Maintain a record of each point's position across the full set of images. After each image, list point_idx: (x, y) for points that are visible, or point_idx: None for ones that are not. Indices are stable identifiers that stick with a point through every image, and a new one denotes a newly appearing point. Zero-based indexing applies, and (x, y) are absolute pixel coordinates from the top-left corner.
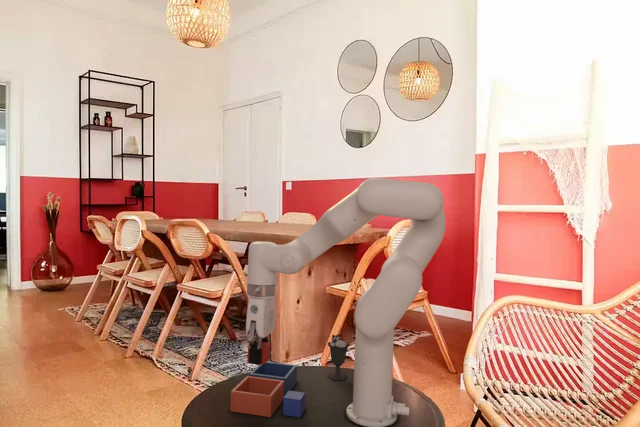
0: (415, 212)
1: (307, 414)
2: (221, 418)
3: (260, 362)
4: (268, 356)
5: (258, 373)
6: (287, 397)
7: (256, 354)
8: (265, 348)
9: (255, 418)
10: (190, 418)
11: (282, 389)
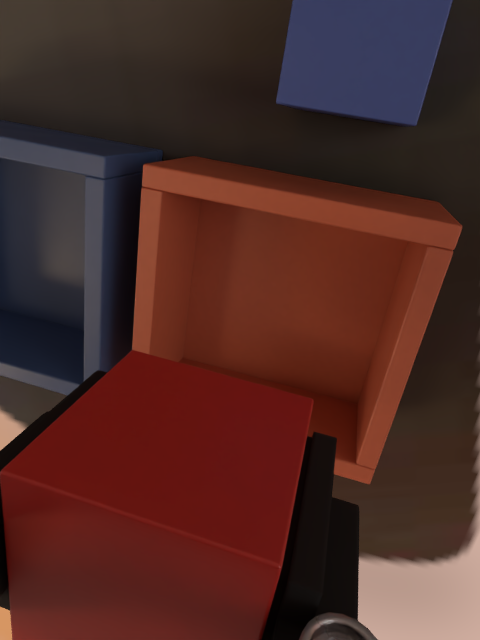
0: None
1: None
2: (447, 443)
3: (333, 450)
4: (150, 380)
5: (20, 344)
6: (418, 89)
7: (356, 580)
8: (228, 521)
9: (450, 285)
10: (445, 555)
11: (198, 167)
